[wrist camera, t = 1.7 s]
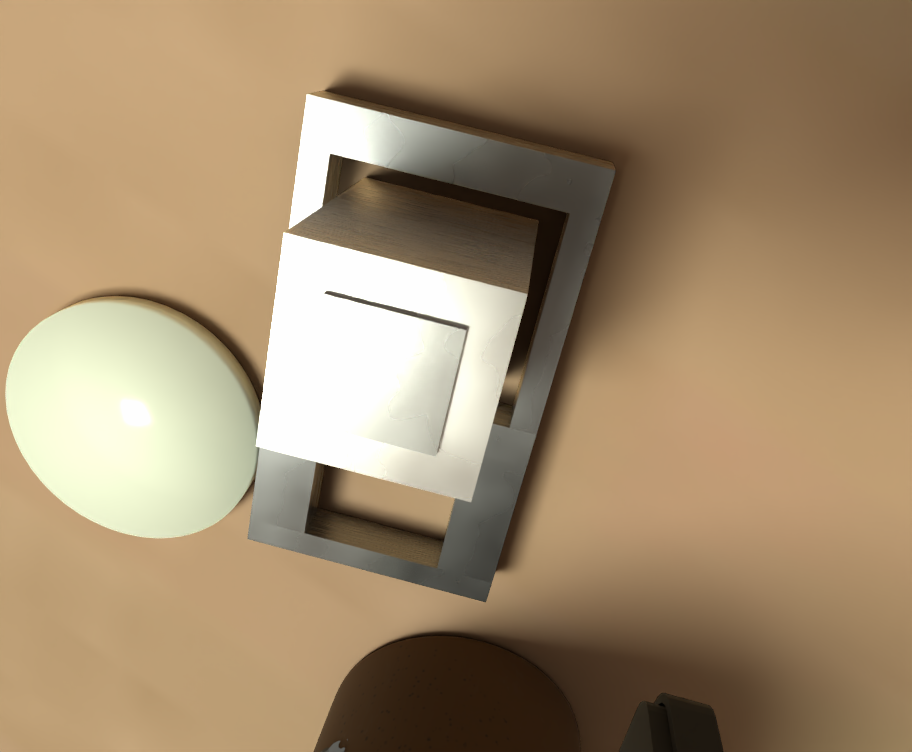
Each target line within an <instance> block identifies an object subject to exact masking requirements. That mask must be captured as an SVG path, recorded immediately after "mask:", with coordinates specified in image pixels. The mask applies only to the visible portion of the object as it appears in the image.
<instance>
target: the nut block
mask: <svg viewBox="0 0 912 752" xmlns="http://www.w3.org/2000/svg"><path fill="white" fill-rule="evenodd" d="M538 221H539V220H535V219H531V218H527V217H523V216H519V215H515V214H511V213H507V212H503V211H499V210H495V209H491V208H487V207H483V206H479V205H475V204H471V203H467V202H463V201H459V200H455V199H451V198H447V197H443V196H439V195H435V194H431V193H427V192H423V191H419V190H415V189H411V188H407V187H403V186H399V185H395V184H391V183H387V182H383V181H379V180H375V179H371V178H367V177H365V178H363V179H362V180H360V181H359V182H357V183H356V184H354V185H353V186H352V187H350V188H349V189H347V190H346V191H344V192H343V193H341V194H340V195H338V196H337V197H335V198H334V199H332V200H331V201H330V202H328V203H327V204H325V205H324V206H322V207H321V208H319V209H318V210H316V211H315V212H313V213H312V214H310V215H309V216H307V217H306V218H305V219H303V220H302V221H300V222H299V223H297V224H296V225H294V226H293V227H291V228H290V229H288V230H287V231H285V232H284V236H283V243H282V251H281V259H280V266H279V274H278V282H277V289H276V297H275V304H274V312H273V320H272V327H271V335H270V343H269V350H268V358H267V365H266V373H265V381H264V388H263V396H262V404H261V411H260V419H259V426H258V434H257V442H256V446H257V447H261V448H265V449H269V450H272V451H276V452H280V453H284V454H288V455H292V456H295V457H299V458H303V459H307V460H311V461H315V462H318V463H322V464H326V465H330V466H334V467H338V468H341V469H345V470H349V471H353V472H357V473H361V474H364V475H368V476H372V477H376V478H380V479H384V480H387V481H391V482H395V483H399V484H403V485H407V486H410V487H414V488H418V489H422V490H426V491H429V492H433V493H437V494H441V495H445V496H449V497H452V498H456V499H460V500H464V501H468V502H471V501H472V497H473V494H474V490H475V486H476V483H477V479H478V475H479V472H480V468H481V464H482V461H483V457H484V453H485V449H486V446H487V442H488V438H489V435H490V431H491V427H492V424H493V420H494V416H495V413H496V409H497V405H498V402H499V398H500V394H501V391H502V387H503V383H504V380H505V376H506V372H507V369H508V365H509V361H510V358H511V354H512V350H513V346H514V343H515V339H516V335H517V332H518V328H519V324H520V321H521V317H522V313H523V310H524V306H525V302H526V299H527V295H528V289H529V282H530V275H531V269H532V262H533V255H534V248H535V242H536V235H537V228H538Z"/></svg>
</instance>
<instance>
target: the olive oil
mask: <svg viewBox="0 0 912 752" xmlns="http://www.w3.org/2000/svg"><path fill="white" fill-rule="evenodd" d="M314 752H581V747H580V737H579V730H578V726H577V722H576V719H575V716H574V713H573V711H572V709H571V707H570V705H569V703H568V701H567V700H566V698H565V696H564V695H563V694H562V692H561V691H560V690H559V688H558V687H557V686H556V685H555V684H554V683H553V682H552V681H551V680H550V679H549V678H548V677H547V676H546V675H545V674H544V673H543V672H542V671H540V670H539V669H538V668H537V667H535V666H534V665H532V664H531V663H529V662H528V661H526V660H525V659H523V658H521V657H520V656H518V655H516V654H514V653H512V652H510V651H508V650H505V649H503V648H500V647H498V646H495V645H492V644H489V643H486V642H482V641H478V640H474V639H469V638H462V637H454V636H426V637H417V638H411V639H407V640H403V641H399V642H396V643H393V644H390V645H387V646H385V647H383V648H381V649H379V650H377V651H375V652H373V653H371V654H370V655H368V656H367V657H365V658H364V659H363V660H362V661H360V662H359V663H358V664H357V665H356V666H355V667H354V668H353V669H352V670H351V671H350V672H349V674H348V675H347V676H346V678H345V679H344V681H343V682H342V684H341V686H340V688H339V690H338V692H337V694H336V696H335V699H334V701H333V703H332V706H331V708H330V711H329V714H328V716H327V719H326V721H325V724H324V726H323V729H322V731H321V734H320V737H319V739H318V742H317V744H316V747H315V749H314Z"/></svg>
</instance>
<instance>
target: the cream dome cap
mask: <svg viewBox="0 0 912 752" xmlns="http://www.w3.org/2000/svg"><path fill="white" fill-rule="evenodd" d="M6 407H7V414H8V418H9V423H10V427H11V429H12V432H13V435H14V438H15V441H16V443H17V445H18V447H19V449H20V451H21V453H22V455H23V456H24V458H25V460H26V461H27V463H28V464H29V466H30V467H31V469H32V470H33V471H34V473H35V474H36V475H37V477H38V478H39V479H40V480H41V482H42V483H43V484H44V485H45V486H46V487H47V488H48V489H49V490H50V491H51V492H52V493H53V494H54V495H55V496H56V497H58V498H59V499H60V500H61V501H62V502H64V503H65V504H66V505H67V506H69V507H70V508H72V509H73V510H75V511H76V512H77V513H79V514H80V515H82V516H84V517H86V518H88V519H89V520H91V521H93V522H95V523H97V524H100V525H102V526H104V527H106V528H109V529H112V530H115V531H118V532H121V533H124V534H129V535H134V536H139V537H148V538H172V537H179V536H185V535H189V534H192V533H196V532H199V531H201V530H203V529H205V528H208V527H210V526H212V525H213V524H215V523H216V522H218V521H220V520H221V519H222V518H224V517H225V516H226V515H227V514H228V513H229V512H230V511H232V509H233V508H234V507H235V506H236V505H237V503H238V502H239V501H240V500H241V498H242V497H243V495H244V494H245V493H246V491H247V490H248V488H249V487H250V485H251V483H252V482H253V480H254V478H255V477H256V472H257V464H258V457H259V449H260V447H257V446H256V442H257V434H258V426H259V419H260V411H261V407H260V403H259V401H258V398H257V395H256V392H255V390H254V388H253V386H252V384H251V382H250V380H249V378H248V376H247V374H246V372H245V371H244V369H243V368H242V366H241V365H240V363H239V362H238V360H237V359H236V358H235V357H234V355H233V354H232V353H231V352H230V351H229V349H228V348H227V347H226V346H225V345H224V344H223V343H222V342H221V341H220V340H219V339H218V338H217V337H216V336H215V335H213V334H212V333H211V332H210V331H209V330H207V329H206V328H205V327H203V326H202V325H201V324H199V323H198V322H196V321H195V320H193V319H191V318H190V317H188V316H186V315H185V314H183V313H181V312H179V311H177V310H174V309H172V308H170V307H168V306H166V305H162V304H159V303H156V302H153V301H150V300H146V299H140V298H135V297H126V296H105V297H97V298H92V299H87V300H83V301H81V302H78V303H75V304H73V305H70V306H68V307H66V308H64V309H63V310H61V311H59V312H57V313H55V314H53V315H52V316H50V317H48V318H46V319H45V320H43V321H41V322H40V323H39V324H38V325H37V326H35V327H34V328H33V329H32V330H31V331H30V332H29V333H28V334H27V335H26V337H25V338H24V339H23V340H22V341H21V343H20V345H19V346H18V348H17V350H16V351H15V353H14V356H13V358H12V361H11V363H10V366H9V370H8V375H7V380H6Z"/></svg>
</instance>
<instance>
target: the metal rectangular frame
mask: <svg viewBox="0 0 912 752" xmlns="http://www.w3.org/2000/svg"><path fill="white" fill-rule="evenodd" d="M343 157H347V158H351V159H355V160H359V161H363V162H367V163H371V164H375V165H379V166H383V167H387V168H391V169H395V170H399V171H403V172H407V173H411V174H415V175H419V176H423V177H427V178H431V179H435V180H439V181H443V182H447V183H451V184H455V185H459V186H463V187H467V188H471V189H475V190H479V191H483V192H487V193H491V194H495V195H499V196H503V197H507V198H511V199H515V200H519V201H523V202H527V203H531V204H535V205H539V206H543V207H547V208H551V209H555V210H559V211H563V212H567V215H566V219H565V222H564V226H563V229H562V233H561V236H560V240H559V243H558V247H557V250H556V254H555V258H554V261H553V265H552V268H551V272H550V275H549V279H548V282H547V286H546V290H545V293H544V297H543V300H542V304H541V307H540V311H539V314H538V318H537V321H536V325H535V329H534V332H533V336H532V339H531V343H530V346H529V350H528V353H527V357H526V361H525V364H524V368H523V371H522V375H521V378H520V382H519V385H518V389H517V392H516V396H515V400H514V403H513V406H511V405H507V404H503V403H499V402H498V405H497V409H496V413H495V416H494V420H493V424H492V427H491V431H490V435H489V438H488V442H487V446H486V449H485V453H484V457H483V461H482V464H481V468H480V472H479V475H478V479H477V483H476V486H475V490H474V494H473V497H472V501H471V502H468V501H464V500H460V499H456V498H455V500H454V504H453V507H452V511H451V515H450V519H449V523H448V526H447V530H446V534H445V538H444V541H441V540H438V539H434V538H430V537H426V536H423V535H419V534H415V533H411V532H407V531H404V530H400V529H396V528H392V527H388V526H385V525H381V524H377V523H373V522H369V521H366V520H362V519H358V518H354V517H350V516H347V515H343V514H339V513H335V512H331V511H328V510H324V509H320V508H318V503H319V497H320V492H321V486H322V480H323V474H324V469H325V464H322V463H318V462H315V461H311V460H307V459H303V458H299V457H295V456H292V455H288V454H284V453H280V452H276V451H272V450H269V449H265V448H261V447H260V449H259V457H258V464H257V472H256V479H255V487H254V494H253V502H252V509H251V516H250V524H249V531H248V539H250V540H253V541H257V542H261V543H265V544H268V545H272V546H276V547H280V548H283V549H287V550H291V551H295V552H298V553H302V554H306V555H310V556H314V557H317V558H321V559H325V560H329V561H332V562H336V563H340V564H344V565H347V566H351V567H355V568H359V569H362V570H366V571H370V572H374V573H378V574H381V575H385V576H389V577H393V578H396V579H400V580H404V581H408V582H411V583H415V584H419V585H423V586H427V587H430V588H434V589H438V590H442V591H445V592H449V593H453V594H457V595H460V596H464V597H468V598H472V599H475V600H479V601H483V602H486V600H487V597H488V594H489V590H490V587H491V584H492V580H493V577H494V574H495V571H496V567H497V564H498V561H499V557H500V554H501V551H502V547H503V544H504V541H505V537H506V534H507V531H508V527H509V524H510V521H511V517H512V514H513V511H514V507H515V504H516V501H517V497H518V494H519V491H520V487H521V484H522V481H523V477H524V474H525V471H526V468H527V464H528V461H529V458H530V454H531V451H532V448H533V444H534V441H535V438H536V434H537V431H538V428H539V424H540V421H541V418H542V414H543V411H544V408H545V404H546V401H547V398H548V394H549V391H550V388H551V384H552V381H553V378H554V374H555V371H556V368H557V365H558V361H559V358H560V355H561V351H562V348H563V345H564V341H565V338H566V335H567V331H568V328H569V325H570V321H571V318H572V315H573V311H574V308H575V305H576V301H577V298H578V295H579V291H580V288H581V285H582V281H583V278H584V275H585V271H586V268H587V265H588V262H589V258H590V255H591V252H592V248H593V245H594V242H595V238H596V235H597V232H598V228H599V225H600V222H601V218H602V215H603V212H604V208H605V205H606V202H607V198H608V195H609V192H610V188H611V185H612V182H613V178H614V175H615V172H616V170H615V167H614V164H613V162H610V161H606V160H602V159H598V158H594V157H590V156H586V155H582V154H578V153H574V152H570V151H566V150H562V149H558V148H554V147H550V146H546V145H542V144H538V143H534V142H529V141H525V140H521V139H517V138H513V137H509V136H505V135H501V134H497V133H493V132H489V131H485V130H481V129H477V128H473V127H469V126H465V125H461V124H457V123H453V122H449V121H445V120H441V119H437V118H433V117H429V116H424V115H420V114H416V113H412V112H408V111H404V110H400V109H396V108H392V107H388V106H384V105H380V104H376V103H372V102H368V101H364V100H360V99H356V98H352V97H348V96H344V95H340V94H336V93H332V92H328V91H319V92H314V93H310V94H307V98H306V105H305V113H304V120H303V128H302V135H301V143H300V150H299V158H298V165H297V173H296V180H295V188H294V195H293V202H292V210H291V217H290V225H289V229H290V228H291V227H293V226H294V225H296V224H297V223H299V222H300V221H302V220H303V219H305V218H306V217H307V216H309V215H310V214H312V213H313V212H315V211H316V210H318V209H319V208H321V207H322V206H324V205H325V204H327V203H328V202H330V201H331V200H332V199H334V198H335V197H337V192H338V186H339V179H340V173H341V167H342V160H343Z"/></svg>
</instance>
